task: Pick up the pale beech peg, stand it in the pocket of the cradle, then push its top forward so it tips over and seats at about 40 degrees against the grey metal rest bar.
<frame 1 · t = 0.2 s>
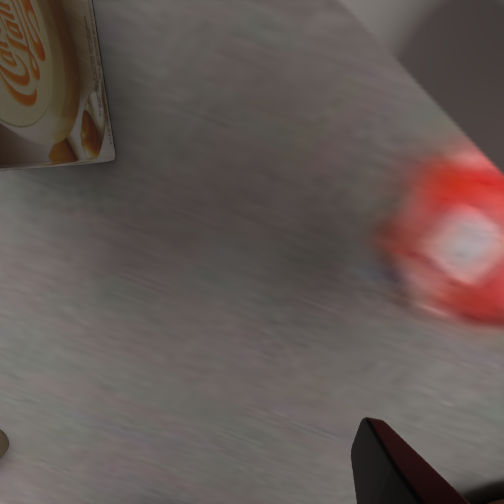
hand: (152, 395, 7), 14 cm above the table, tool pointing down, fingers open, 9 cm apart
coffee box: (50, 78, 19), on the table
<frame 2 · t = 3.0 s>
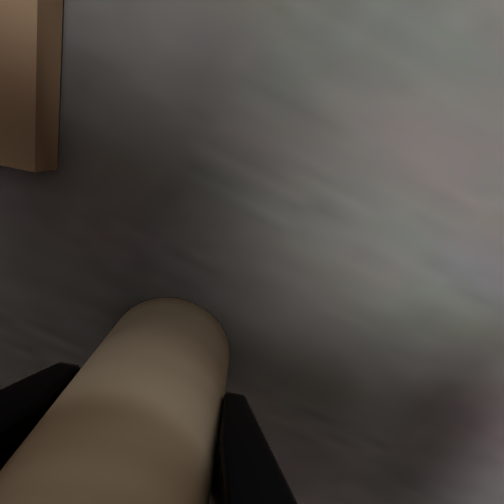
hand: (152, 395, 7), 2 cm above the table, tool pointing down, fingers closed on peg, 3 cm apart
peg: (170, 351, 9), on the table, touching gripper
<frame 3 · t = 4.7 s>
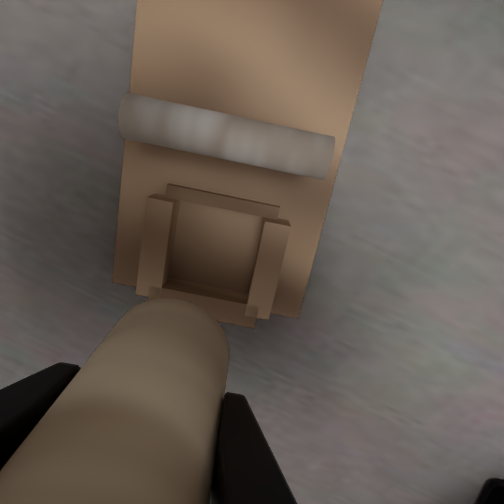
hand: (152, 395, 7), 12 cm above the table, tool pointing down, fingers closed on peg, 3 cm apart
cradle: (227, 186, 18), on the table
peg: (170, 352, 9), point 10 cm above the table, touching gripper
when the fingers open (3 cm above the table, at t = 6.4 s): peg stays where it is, resting on cradle.
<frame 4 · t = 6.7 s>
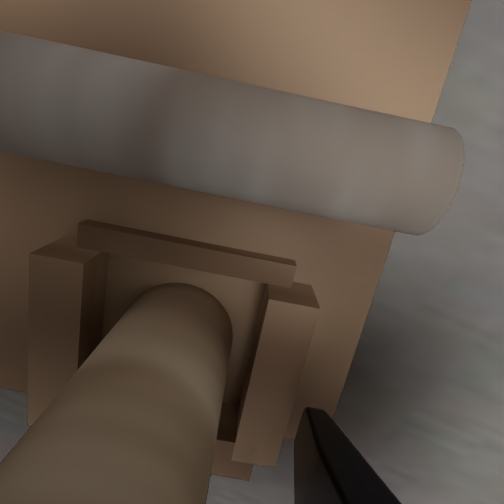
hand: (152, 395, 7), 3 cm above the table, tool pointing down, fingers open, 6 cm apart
cradle: (199, 222, 10), on the table
peg: (179, 332, 10), point 1 cm above the table, touching cradle
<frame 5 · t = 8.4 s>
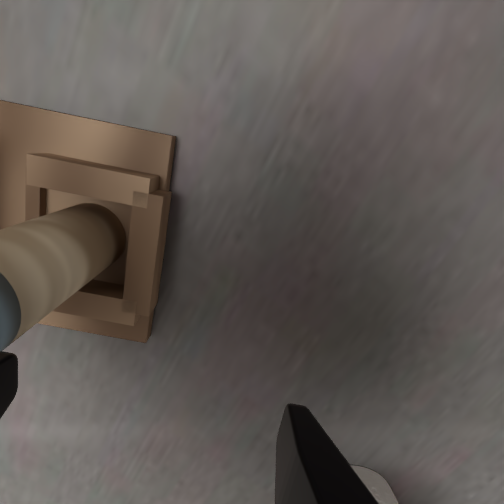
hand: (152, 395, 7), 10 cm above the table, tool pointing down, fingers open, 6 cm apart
cradle: (36, 219, 17), on the table
dixie cup: (344, 497, 22), on the table
peg: (92, 235, 16), point 1 cm above the table, touching cradle
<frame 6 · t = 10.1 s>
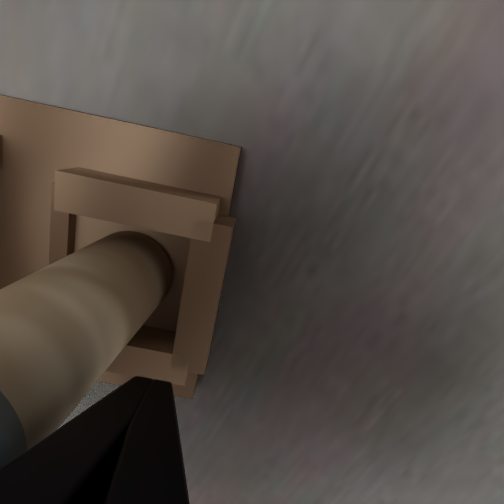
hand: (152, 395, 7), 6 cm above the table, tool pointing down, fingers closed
cradle: (60, 248, 13), on the table
peg: (131, 271, 12), point 1 cm above the table, touching cradle, gripper
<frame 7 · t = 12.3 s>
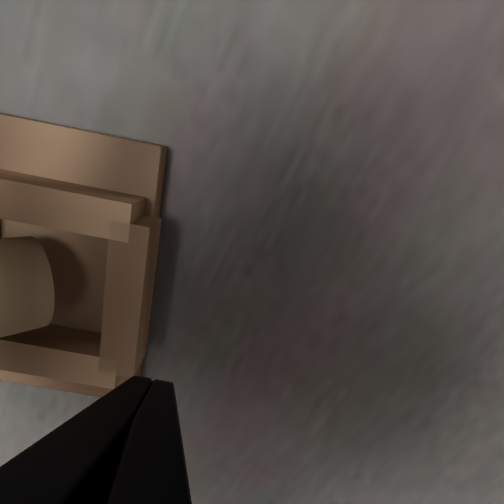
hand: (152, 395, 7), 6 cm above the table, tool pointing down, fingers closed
peg: (36, 281, 12), point 2 cm above the table, tilted 40°, touching cradle
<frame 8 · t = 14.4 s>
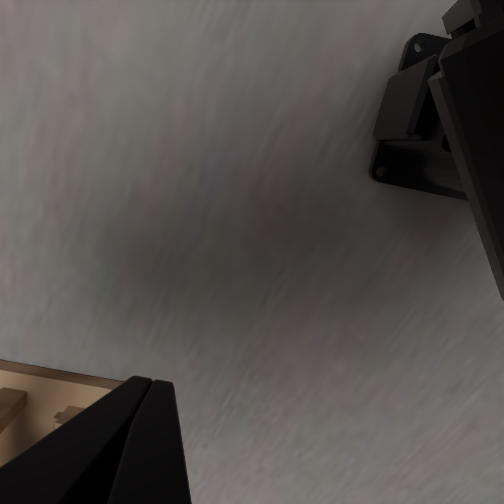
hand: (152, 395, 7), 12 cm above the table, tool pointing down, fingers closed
cradle: (58, 435, 23), on the table
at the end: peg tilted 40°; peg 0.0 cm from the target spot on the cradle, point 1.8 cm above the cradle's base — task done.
